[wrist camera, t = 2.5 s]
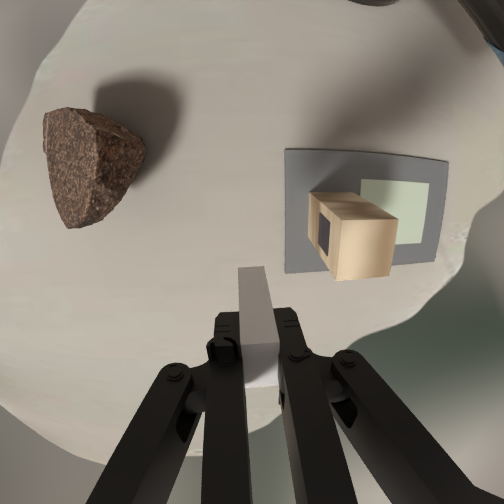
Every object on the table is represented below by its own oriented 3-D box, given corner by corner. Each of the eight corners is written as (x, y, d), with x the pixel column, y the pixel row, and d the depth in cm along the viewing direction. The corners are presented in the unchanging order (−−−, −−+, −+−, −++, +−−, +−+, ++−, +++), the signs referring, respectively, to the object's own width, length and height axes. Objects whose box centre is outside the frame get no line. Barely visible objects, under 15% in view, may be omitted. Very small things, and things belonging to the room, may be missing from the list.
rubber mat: (284, 272, 32) (285, 274, 32) (284, 149, 27) (285, 149, 26) (432, 260, 33) (434, 261, 32) (447, 162, 27) (449, 162, 27)
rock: (35, 135, 19) (53, 69, 13) (113, 119, 27) (154, 66, 20) (64, 243, 21) (86, 210, 15) (145, 211, 29) (197, 175, 22)
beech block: (306, 236, 30) (334, 281, 21) (307, 192, 28) (340, 220, 19) (349, 234, 30) (389, 275, 21) (352, 192, 28) (398, 219, 19)
